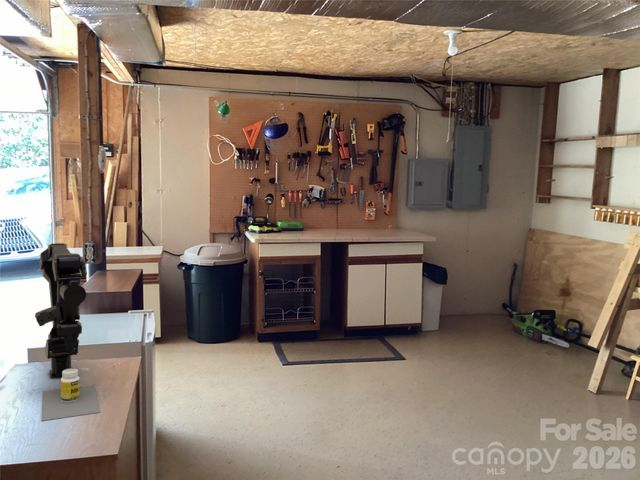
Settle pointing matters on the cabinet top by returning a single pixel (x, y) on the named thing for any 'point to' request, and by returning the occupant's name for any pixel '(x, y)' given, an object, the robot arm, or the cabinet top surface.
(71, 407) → the flat gray panel
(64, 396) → the supplement bottle
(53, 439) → the cabinet top surface
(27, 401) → the cabinet top surface
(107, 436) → the cabinet top surface
